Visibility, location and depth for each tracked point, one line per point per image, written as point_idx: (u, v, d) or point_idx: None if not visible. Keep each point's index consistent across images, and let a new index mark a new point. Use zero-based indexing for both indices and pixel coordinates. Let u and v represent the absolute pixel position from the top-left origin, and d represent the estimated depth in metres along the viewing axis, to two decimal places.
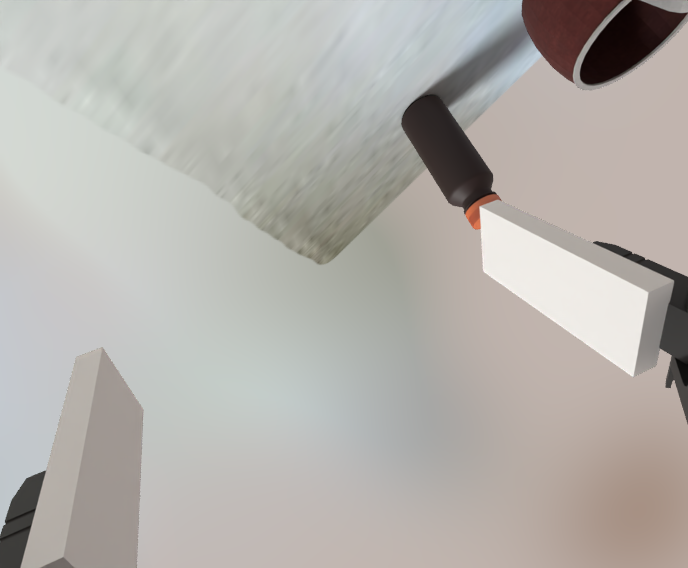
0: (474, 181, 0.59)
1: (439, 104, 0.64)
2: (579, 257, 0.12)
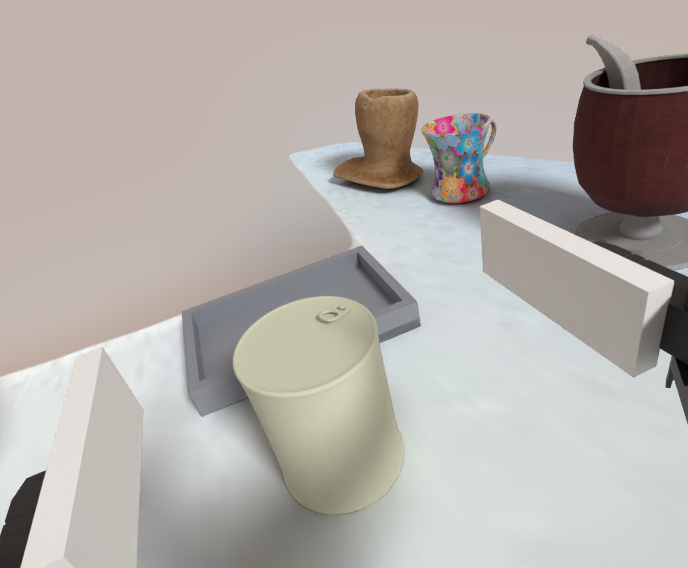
0: None
1: None
2: (579, 257, 0.12)
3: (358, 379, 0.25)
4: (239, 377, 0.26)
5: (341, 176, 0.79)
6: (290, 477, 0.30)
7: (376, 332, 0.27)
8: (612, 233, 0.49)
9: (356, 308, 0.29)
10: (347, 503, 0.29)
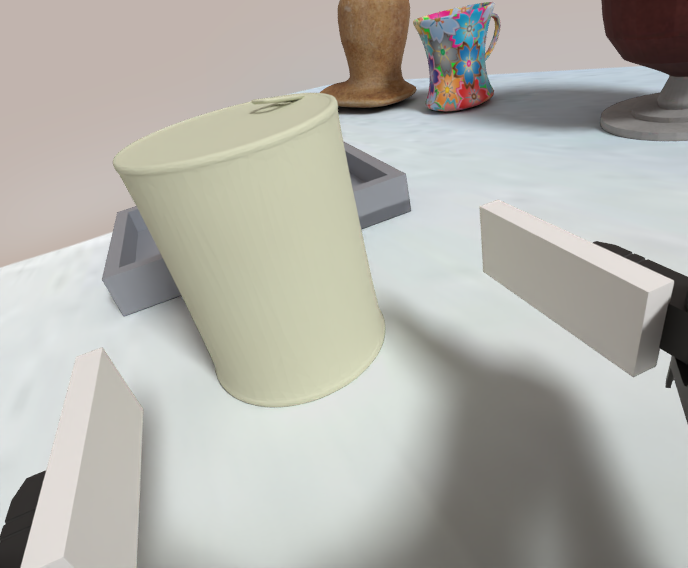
0: None
1: None
2: (579, 257, 0.12)
3: (301, 154, 0.16)
4: (116, 163, 0.16)
5: None
6: (215, 351, 0.20)
7: (334, 103, 0.17)
8: (648, 108, 0.39)
9: (309, 96, 0.20)
10: (298, 387, 0.20)
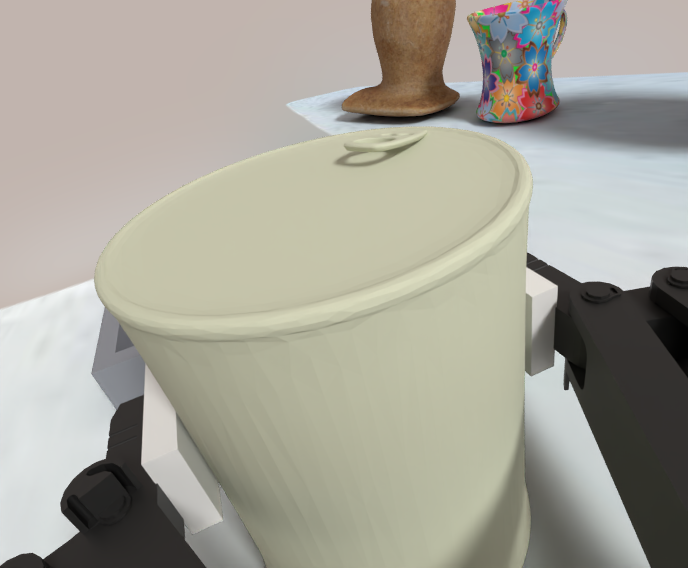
0: None
1: None
2: None
3: (494, 280, 0.07)
4: (99, 285, 0.08)
5: (352, 108, 0.62)
6: (273, 565, 0.12)
7: (522, 158, 0.09)
8: None
9: (439, 135, 0.11)
10: None
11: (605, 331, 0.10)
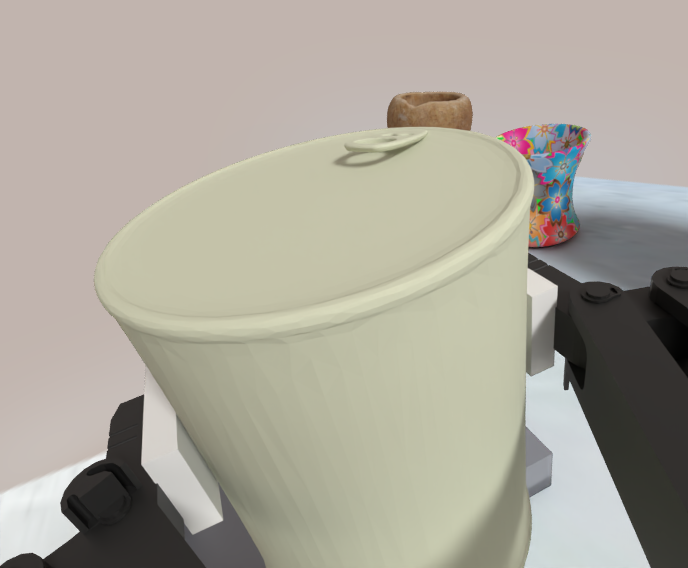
0: None
1: None
2: None
3: (496, 282, 0.07)
4: (99, 287, 0.08)
5: None
6: (273, 567, 0.12)
7: (524, 159, 0.09)
8: None
9: (440, 135, 0.11)
10: None
11: (605, 331, 0.10)
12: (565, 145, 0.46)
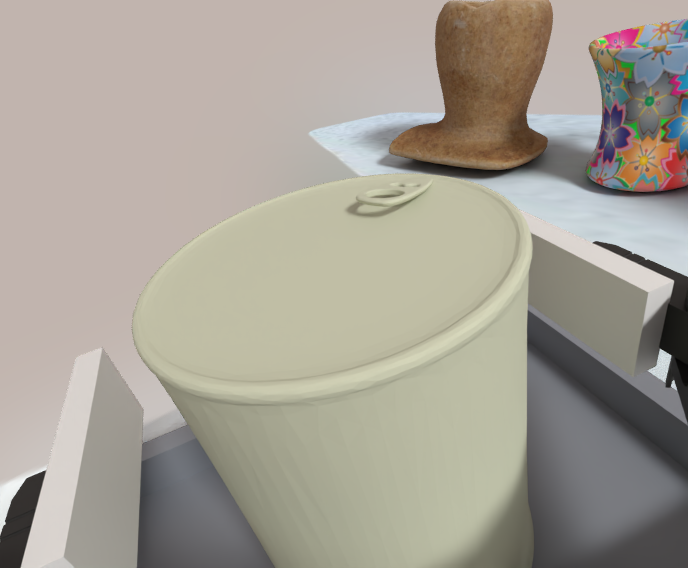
0: None
1: None
2: (579, 257, 0.12)
3: (499, 341, 0.08)
4: (139, 343, 0.09)
5: (404, 153, 0.49)
6: None
7: (523, 218, 0.10)
8: None
9: (445, 185, 0.12)
10: None
11: None
12: None
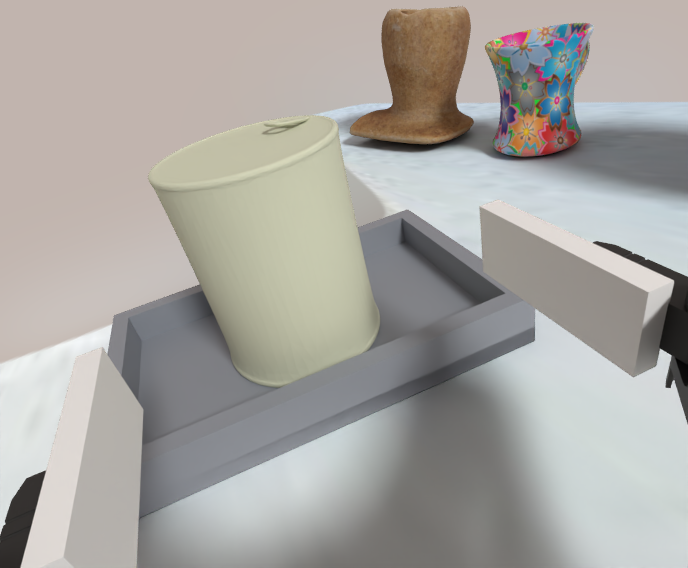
0: None
1: None
2: (579, 257, 0.12)
3: (308, 172, 0.19)
4: (152, 180, 0.19)
5: (361, 133, 0.59)
6: (232, 339, 0.23)
7: (335, 127, 0.20)
8: None
9: (314, 119, 0.23)
10: (305, 370, 0.23)
11: None
12: None
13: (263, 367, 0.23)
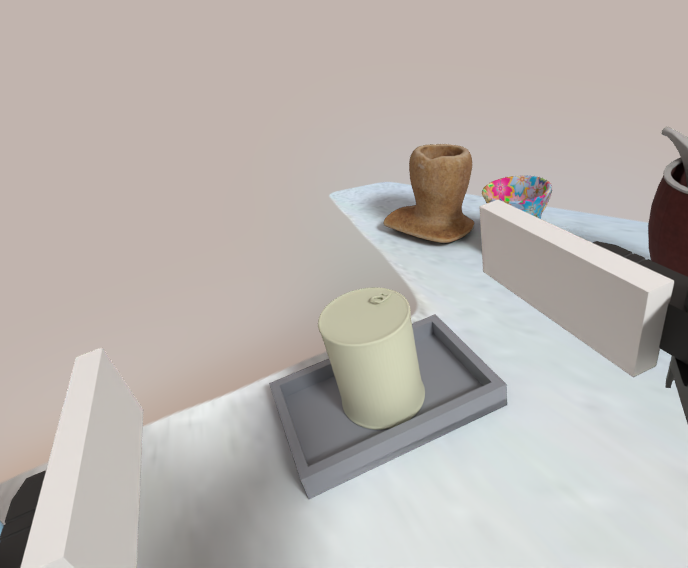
0: None
1: None
2: (579, 257, 0.12)
3: (400, 336, 0.41)
4: (326, 337, 0.42)
5: (392, 226, 0.82)
6: (352, 405, 0.46)
7: (409, 308, 0.43)
8: None
9: (394, 294, 0.45)
10: (390, 421, 0.45)
11: None
12: (536, 191, 0.66)
13: (368, 419, 0.46)
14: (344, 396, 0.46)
